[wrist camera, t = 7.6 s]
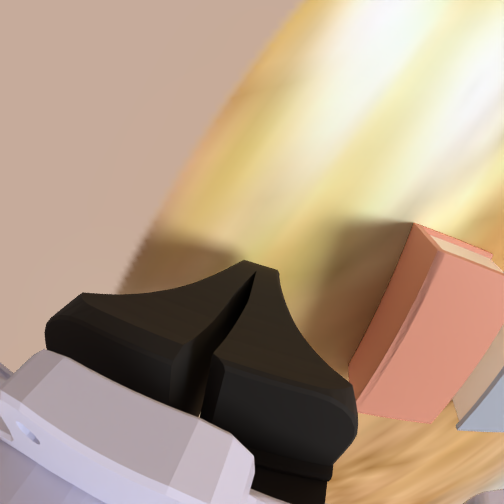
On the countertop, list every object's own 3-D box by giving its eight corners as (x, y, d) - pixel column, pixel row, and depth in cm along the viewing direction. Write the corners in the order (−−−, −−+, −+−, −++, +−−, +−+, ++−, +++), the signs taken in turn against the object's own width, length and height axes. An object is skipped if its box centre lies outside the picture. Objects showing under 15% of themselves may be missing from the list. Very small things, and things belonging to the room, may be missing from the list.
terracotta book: (412, 221, 11) (437, 250, 8) (490, 252, 10) (524, 284, 8) (348, 362, 14) (349, 410, 11) (419, 378, 13) (430, 423, 10)
